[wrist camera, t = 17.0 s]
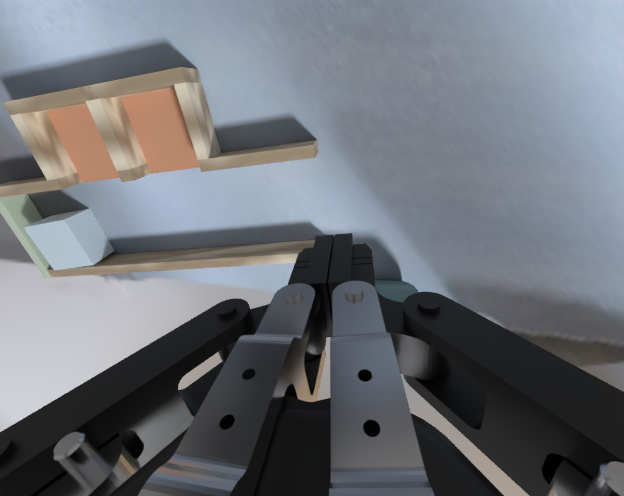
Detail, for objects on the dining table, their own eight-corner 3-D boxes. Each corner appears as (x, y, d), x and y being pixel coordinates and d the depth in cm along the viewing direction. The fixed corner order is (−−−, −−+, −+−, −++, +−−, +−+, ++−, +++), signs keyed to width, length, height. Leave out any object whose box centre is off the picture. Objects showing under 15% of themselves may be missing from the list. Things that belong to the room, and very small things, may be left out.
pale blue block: (52, 215, 49) (23, 227, 45) (90, 207, 48) (64, 219, 43) (79, 255, 53) (54, 270, 49) (115, 250, 51) (93, 265, 47)
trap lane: (-31, 113, 42) (-66, 116, 39) (305, 48, 33) (299, 43, 30) (64, 265, 54) (44, 277, 51) (331, 247, 45) (329, 260, 42)
